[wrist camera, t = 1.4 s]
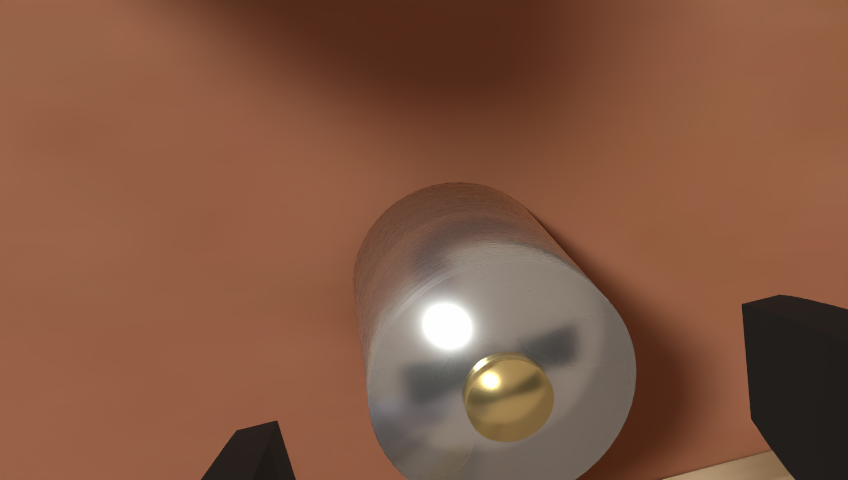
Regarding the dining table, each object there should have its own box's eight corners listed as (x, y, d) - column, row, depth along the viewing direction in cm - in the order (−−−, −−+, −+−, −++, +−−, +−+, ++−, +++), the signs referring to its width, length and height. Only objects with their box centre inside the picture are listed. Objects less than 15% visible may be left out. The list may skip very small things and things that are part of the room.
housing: (378, 390, 18) (404, 550, 13) (331, 209, 17) (340, 311, 12) (565, 343, 19) (659, 482, 14) (534, 161, 17) (627, 241, 12)
